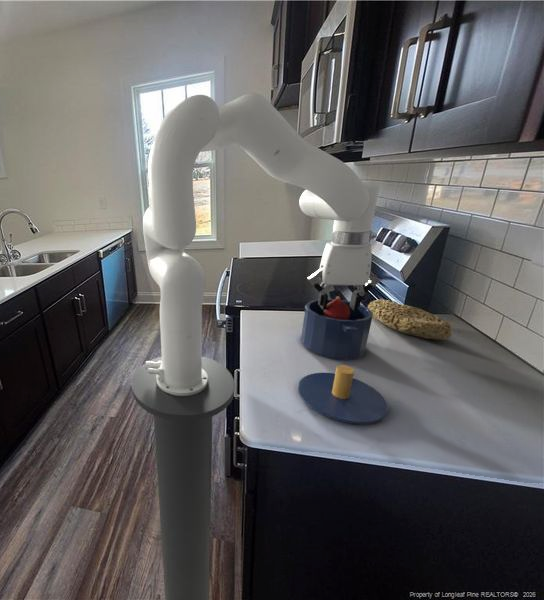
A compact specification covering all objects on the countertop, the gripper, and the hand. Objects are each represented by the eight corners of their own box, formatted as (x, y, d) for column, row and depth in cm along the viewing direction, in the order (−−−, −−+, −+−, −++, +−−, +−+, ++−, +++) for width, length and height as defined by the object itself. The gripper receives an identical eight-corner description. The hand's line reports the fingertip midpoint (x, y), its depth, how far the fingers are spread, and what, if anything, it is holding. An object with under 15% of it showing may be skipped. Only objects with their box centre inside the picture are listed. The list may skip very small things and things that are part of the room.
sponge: (359, 319, 100) (401, 337, 81) (366, 295, 99) (410, 307, 79) (404, 327, 99) (457, 346, 79) (411, 302, 97) (467, 316, 78)
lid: (307, 421, 60) (312, 390, 57) (291, 374, 74) (294, 347, 71) (403, 431, 56) (413, 398, 53) (367, 379, 70) (373, 351, 68)
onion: (351, 330, 79) (356, 300, 76) (326, 330, 80) (330, 301, 77) (342, 321, 84) (346, 292, 82) (319, 321, 86) (322, 293, 83)
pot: (311, 363, 77) (317, 324, 73) (294, 327, 95) (298, 295, 91) (379, 368, 74) (389, 327, 70) (348, 329, 92) (355, 296, 88)
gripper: (384, 234, 76) (370, 304, 82) (306, 235, 80) (297, 302, 86) (400, 240, 69) (383, 315, 75) (313, 241, 73) (304, 312, 79)
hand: (337, 307), depth 81 cm, fingers open, 6 cm apart
